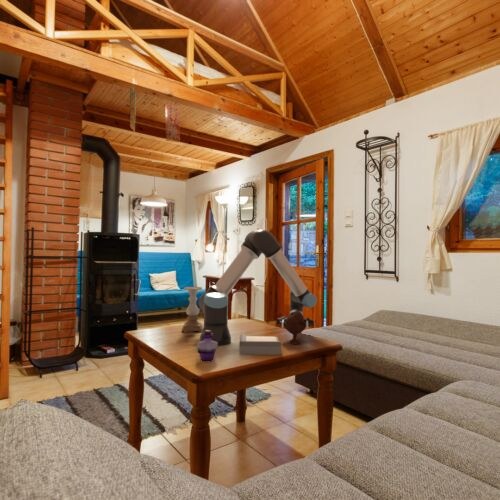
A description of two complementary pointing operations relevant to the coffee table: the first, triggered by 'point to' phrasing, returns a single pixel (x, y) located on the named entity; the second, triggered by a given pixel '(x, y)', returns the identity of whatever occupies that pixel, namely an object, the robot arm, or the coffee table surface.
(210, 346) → the potion bottle
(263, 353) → the step dock
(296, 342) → the ice cream bowl
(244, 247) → the robot arm
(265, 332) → the coffee table surface
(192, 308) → the candle holder
